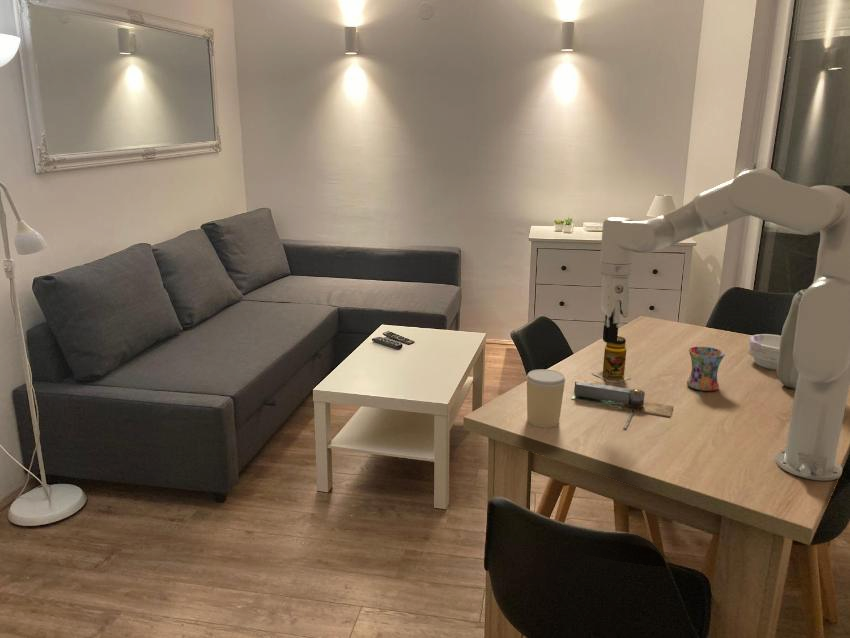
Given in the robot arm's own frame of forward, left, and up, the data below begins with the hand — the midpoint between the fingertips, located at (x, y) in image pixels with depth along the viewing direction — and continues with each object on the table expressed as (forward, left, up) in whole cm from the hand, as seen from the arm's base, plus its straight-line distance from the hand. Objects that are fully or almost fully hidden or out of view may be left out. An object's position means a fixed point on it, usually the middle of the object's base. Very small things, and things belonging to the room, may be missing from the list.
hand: (609, 341), depth 174 cm
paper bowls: (+60, -40, -19) cm, 74 cm away
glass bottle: (+42, -45, -19) cm, 64 cm away
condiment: (+27, +3, -19) cm, 33 cm away
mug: (+31, -22, -19) cm, 42 cm away
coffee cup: (-13, +12, -19) cm, 26 cm away
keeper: (+8, +3, -19) cm, 20 cm away
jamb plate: (0, -10, -19) cm, 21 cm away
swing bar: (+6, 0, -18) cm, 19 cm away
